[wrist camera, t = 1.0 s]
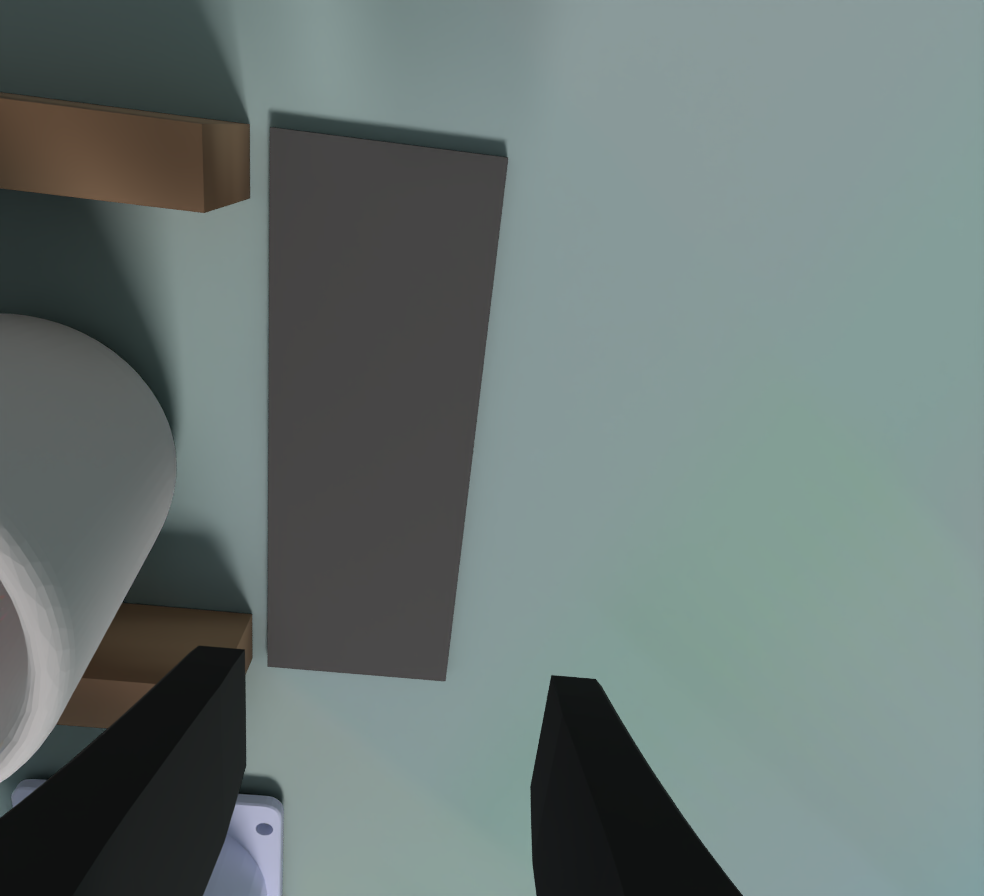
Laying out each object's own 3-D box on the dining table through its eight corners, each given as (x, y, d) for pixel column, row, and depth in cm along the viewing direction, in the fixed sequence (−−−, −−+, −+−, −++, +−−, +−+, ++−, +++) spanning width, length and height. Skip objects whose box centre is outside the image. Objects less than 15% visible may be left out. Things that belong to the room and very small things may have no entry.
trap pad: (445, 674, 22) (445, 681, 21) (270, 659, 21) (267, 666, 21) (507, 157, 16) (508, 158, 16) (273, 127, 16) (269, 127, 16)
